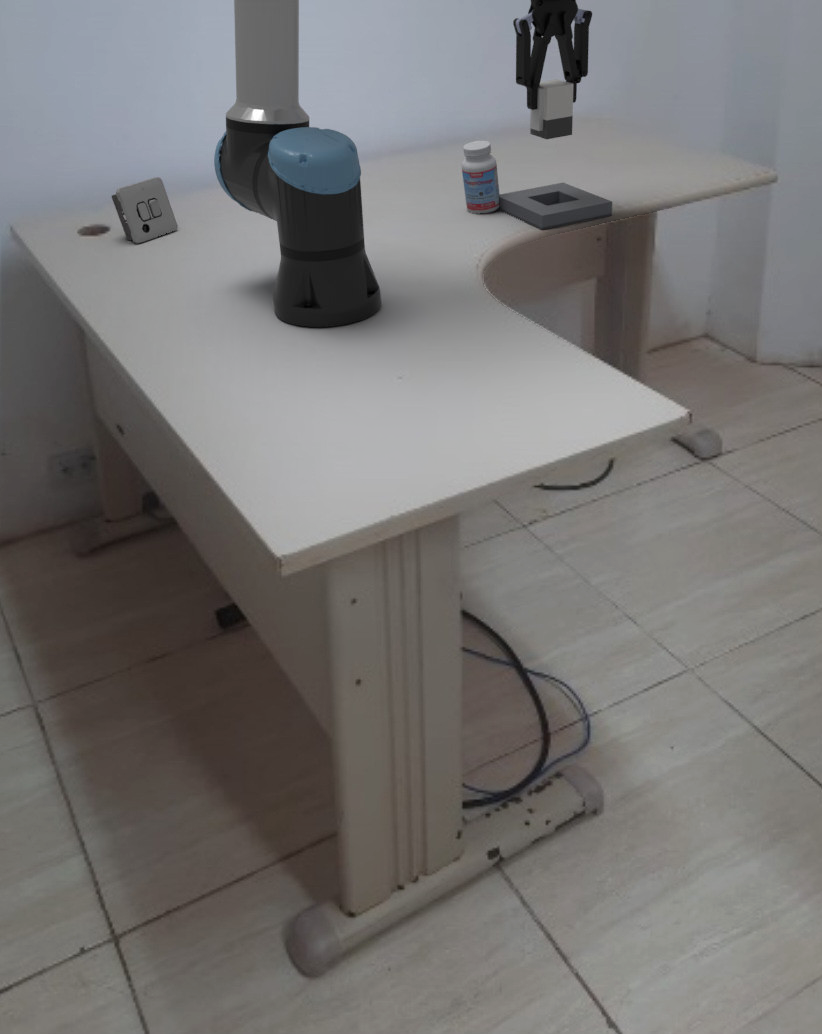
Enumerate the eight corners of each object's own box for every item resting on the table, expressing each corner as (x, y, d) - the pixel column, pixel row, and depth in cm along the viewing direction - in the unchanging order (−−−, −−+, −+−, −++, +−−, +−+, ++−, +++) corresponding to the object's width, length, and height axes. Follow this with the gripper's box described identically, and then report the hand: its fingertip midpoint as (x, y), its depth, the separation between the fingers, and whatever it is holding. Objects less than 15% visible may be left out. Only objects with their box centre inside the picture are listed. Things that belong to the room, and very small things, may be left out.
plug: (572, 134, 176) (573, 83, 172) (546, 139, 174) (547, 87, 170) (555, 129, 180) (556, 79, 176) (530, 133, 178) (530, 83, 174)
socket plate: (611, 215, 181) (612, 201, 179) (542, 230, 176) (542, 215, 174) (562, 195, 192) (563, 182, 191) (496, 208, 187) (496, 195, 186)
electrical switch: (137, 245, 179) (123, 189, 175) (118, 243, 182) (105, 188, 178) (179, 231, 185) (167, 176, 181) (161, 229, 188) (148, 176, 184)
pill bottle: (465, 216, 186) (456, 153, 179) (469, 203, 191) (461, 141, 184) (499, 213, 184) (492, 149, 178) (502, 200, 189) (495, 137, 183)
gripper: (588, -37, 170) (583, 114, 183) (491, -26, 164) (493, 131, 176) (616, -34, 164) (609, 122, 177) (516, -22, 158) (516, 139, 170)
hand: (551, 126), depth 176 cm, fingers closed on plug, 5 cm apart
